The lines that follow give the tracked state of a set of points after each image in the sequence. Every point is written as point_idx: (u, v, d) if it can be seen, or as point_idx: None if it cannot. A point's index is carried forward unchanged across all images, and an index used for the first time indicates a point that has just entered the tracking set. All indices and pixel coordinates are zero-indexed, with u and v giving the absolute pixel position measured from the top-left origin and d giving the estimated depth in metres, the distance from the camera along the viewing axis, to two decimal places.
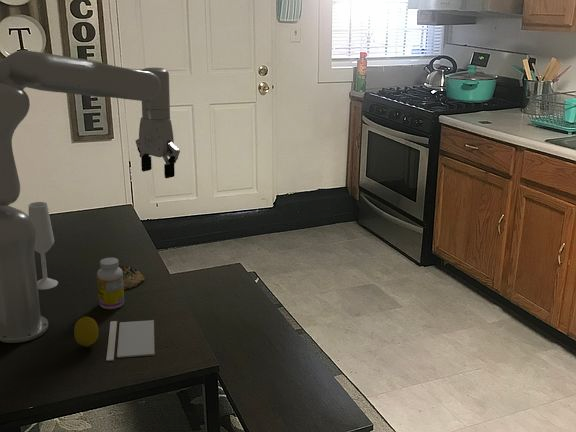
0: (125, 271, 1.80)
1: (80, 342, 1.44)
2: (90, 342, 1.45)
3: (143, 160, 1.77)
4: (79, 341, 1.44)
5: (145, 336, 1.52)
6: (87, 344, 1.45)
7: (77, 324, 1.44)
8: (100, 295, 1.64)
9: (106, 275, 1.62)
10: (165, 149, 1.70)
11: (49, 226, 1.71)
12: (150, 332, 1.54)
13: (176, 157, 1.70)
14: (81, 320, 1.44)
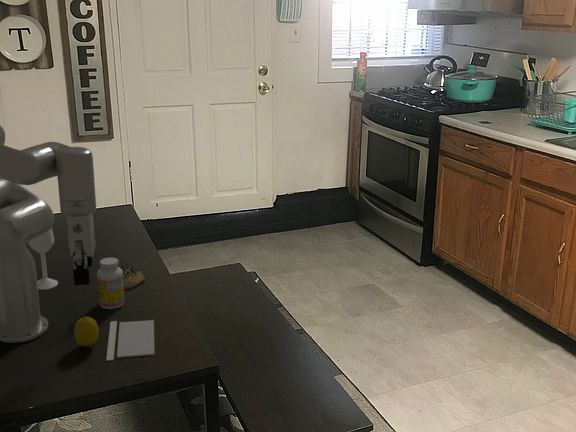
0: (126, 271, 1.80)
1: (80, 342, 1.44)
2: (90, 342, 1.45)
3: None
4: (79, 341, 1.44)
5: (145, 336, 1.52)
6: (87, 344, 1.45)
7: (77, 324, 1.44)
8: (100, 295, 1.64)
9: (106, 275, 1.62)
10: None
11: None
12: (150, 332, 1.54)
13: None
14: (81, 320, 1.44)
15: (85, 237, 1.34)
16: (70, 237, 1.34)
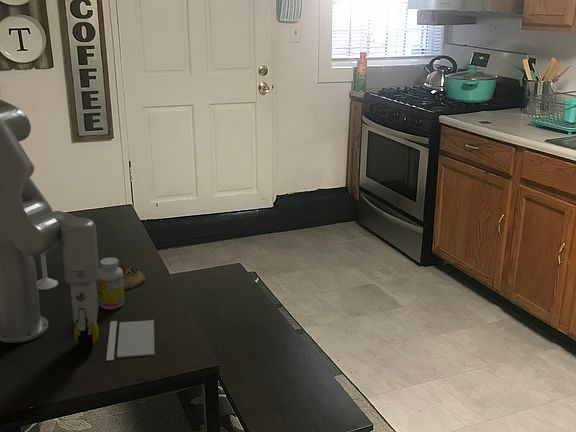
0: (126, 271, 1.80)
1: None
2: None
3: None
4: None
5: (145, 336, 1.52)
6: None
7: (77, 324, 1.44)
8: (100, 295, 1.64)
9: (106, 275, 1.62)
10: None
11: None
12: (150, 332, 1.54)
13: None
14: None
15: (88, 305, 1.39)
16: (74, 305, 1.38)
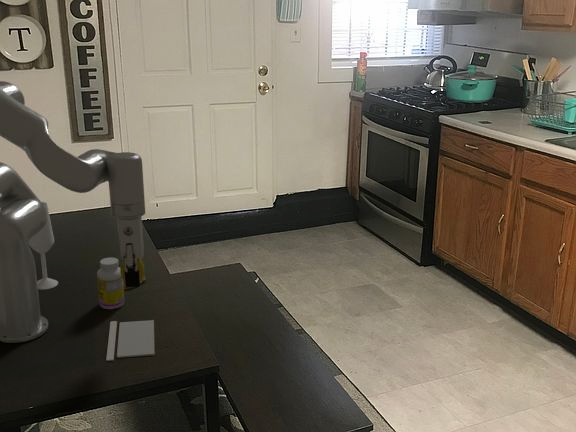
0: None
1: None
2: None
3: None
4: None
5: (145, 336, 1.52)
6: None
7: (123, 261, 1.43)
8: (100, 295, 1.64)
9: (106, 275, 1.62)
10: None
11: (49, 226, 1.71)
12: (150, 332, 1.54)
13: None
14: None
15: (135, 240, 1.38)
16: (121, 240, 1.37)
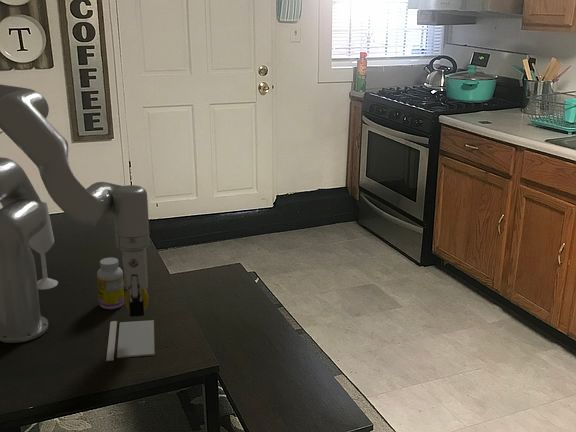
0: None
1: None
2: None
3: None
4: None
5: (145, 336, 1.52)
6: None
7: (128, 291, 1.46)
8: (100, 295, 1.64)
9: (106, 275, 1.62)
10: None
11: (49, 226, 1.71)
12: (150, 332, 1.54)
13: None
14: None
15: (140, 271, 1.41)
16: (126, 271, 1.40)
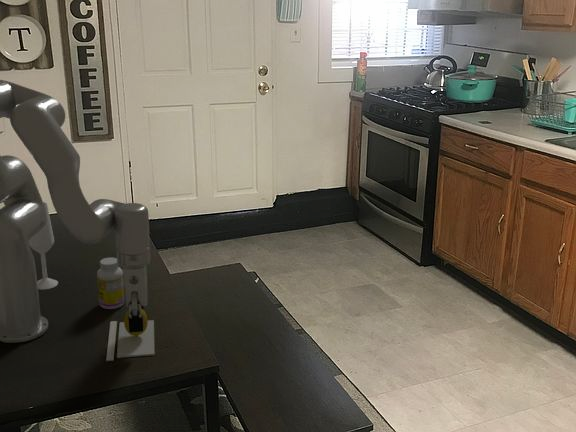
0: None
1: None
2: None
3: None
4: None
5: (145, 336, 1.52)
6: (137, 333, 1.50)
7: (128, 314, 1.49)
8: (100, 295, 1.64)
9: (106, 275, 1.62)
10: None
11: (49, 226, 1.71)
12: (150, 332, 1.54)
13: None
14: None
15: (140, 288, 1.42)
16: (126, 288, 1.42)
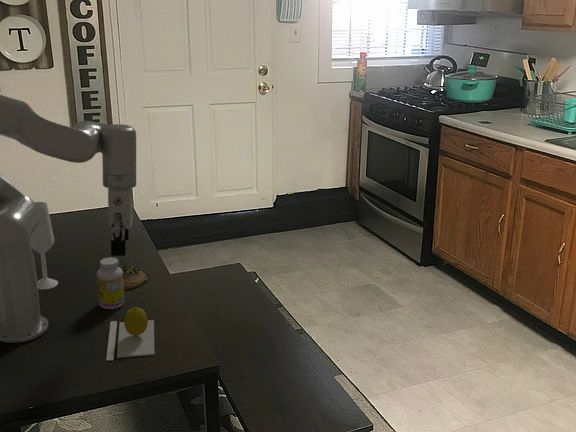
0: (128, 271, 1.80)
1: (130, 332, 1.49)
2: (140, 332, 1.49)
3: None
4: (130, 331, 1.49)
5: (145, 336, 1.52)
6: (137, 333, 1.50)
7: (128, 314, 1.49)
8: (100, 295, 1.64)
9: (106, 275, 1.62)
10: None
11: (49, 226, 1.71)
12: (150, 332, 1.54)
13: None
14: (131, 310, 1.49)
15: (124, 210, 1.41)
16: (110, 209, 1.41)
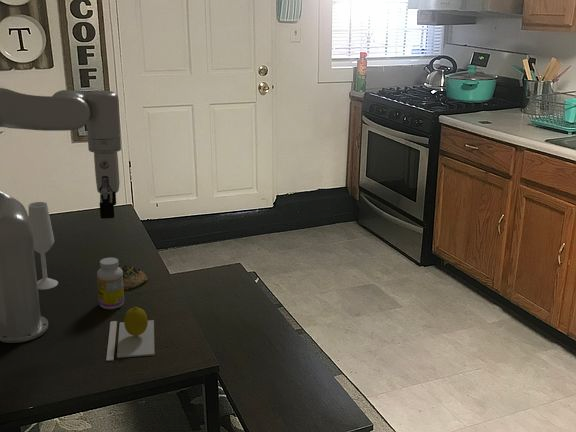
0: (128, 271, 1.80)
1: (130, 332, 1.49)
2: (140, 332, 1.49)
3: None
4: (130, 331, 1.49)
5: (145, 336, 1.52)
6: (137, 334, 1.50)
7: (128, 314, 1.49)
8: (100, 295, 1.64)
9: (106, 275, 1.62)
10: None
11: (49, 226, 1.71)
12: (150, 332, 1.54)
13: None
14: (131, 310, 1.49)
15: (111, 173, 1.46)
16: (97, 173, 1.46)
